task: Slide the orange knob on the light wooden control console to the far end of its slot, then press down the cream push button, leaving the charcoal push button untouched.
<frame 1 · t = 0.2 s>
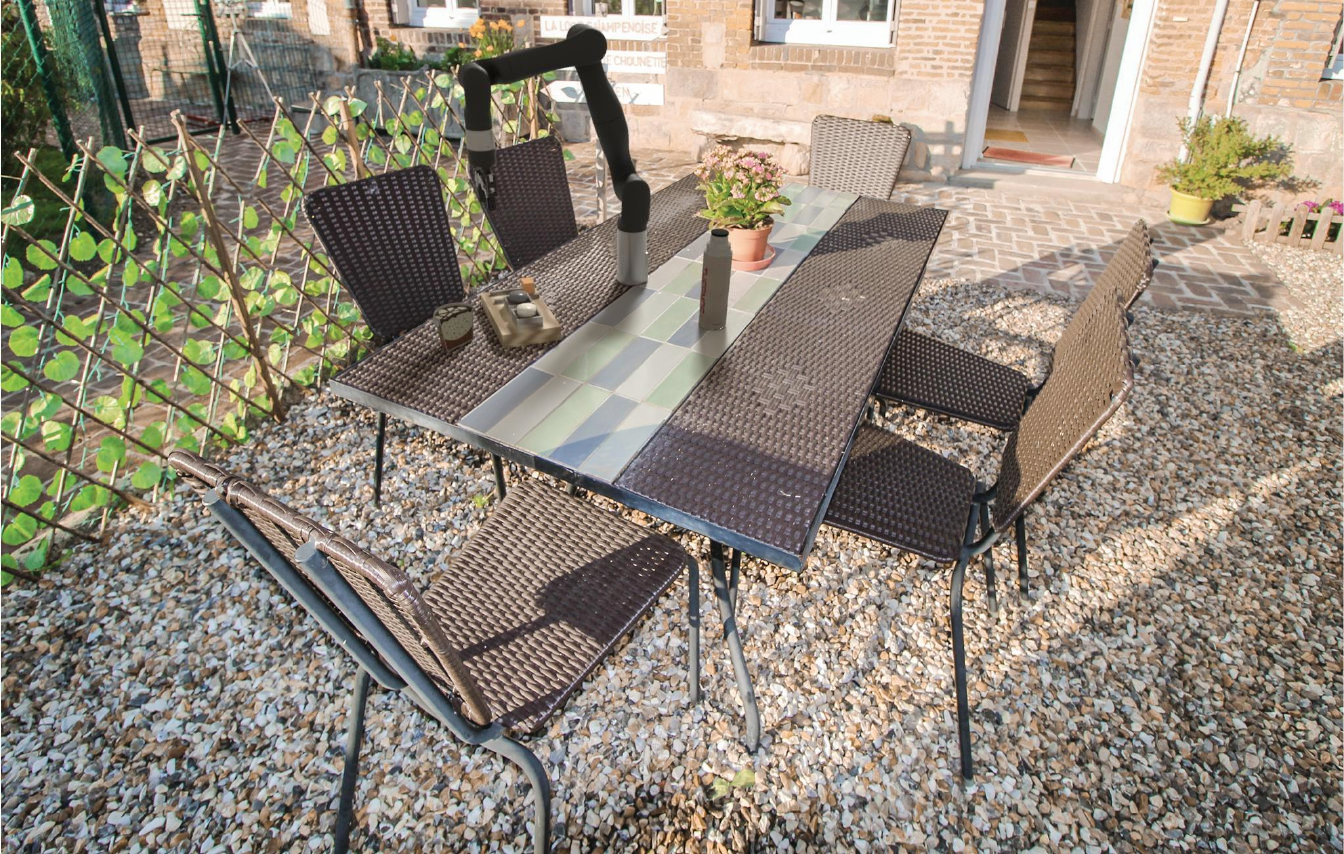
hand: (487, 206, 207), 28 cm above the table, tool pointing down, fingers open, 8 cm apart
slider knob: (527, 287, 217), point 6 cm above the table, slide at 0.0 cm
charcoal button: (518, 296, 207), point 8 cm above the table, slide at 0.0 cm
cream button: (526, 310, 201), point 8 cm above the table, slide at 0.0 cm
console: (520, 322, 212), on the table
thermos bottle: (712, 324, 216), on the table
food container: (452, 343, 200), on the table
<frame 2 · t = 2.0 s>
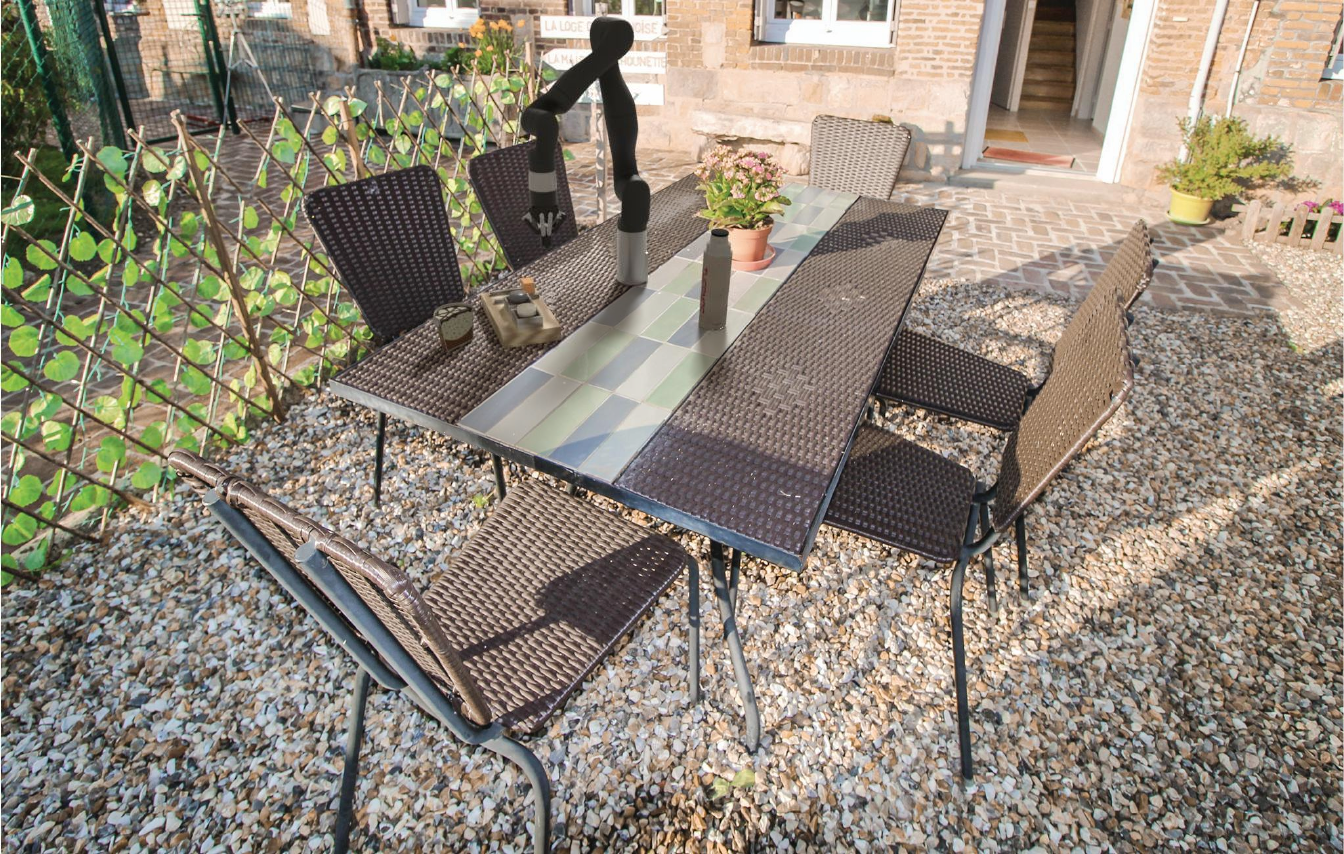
hand: (545, 247, 212), 18 cm above the table, tool pointing down, fingers closed
nothing on the table moved.
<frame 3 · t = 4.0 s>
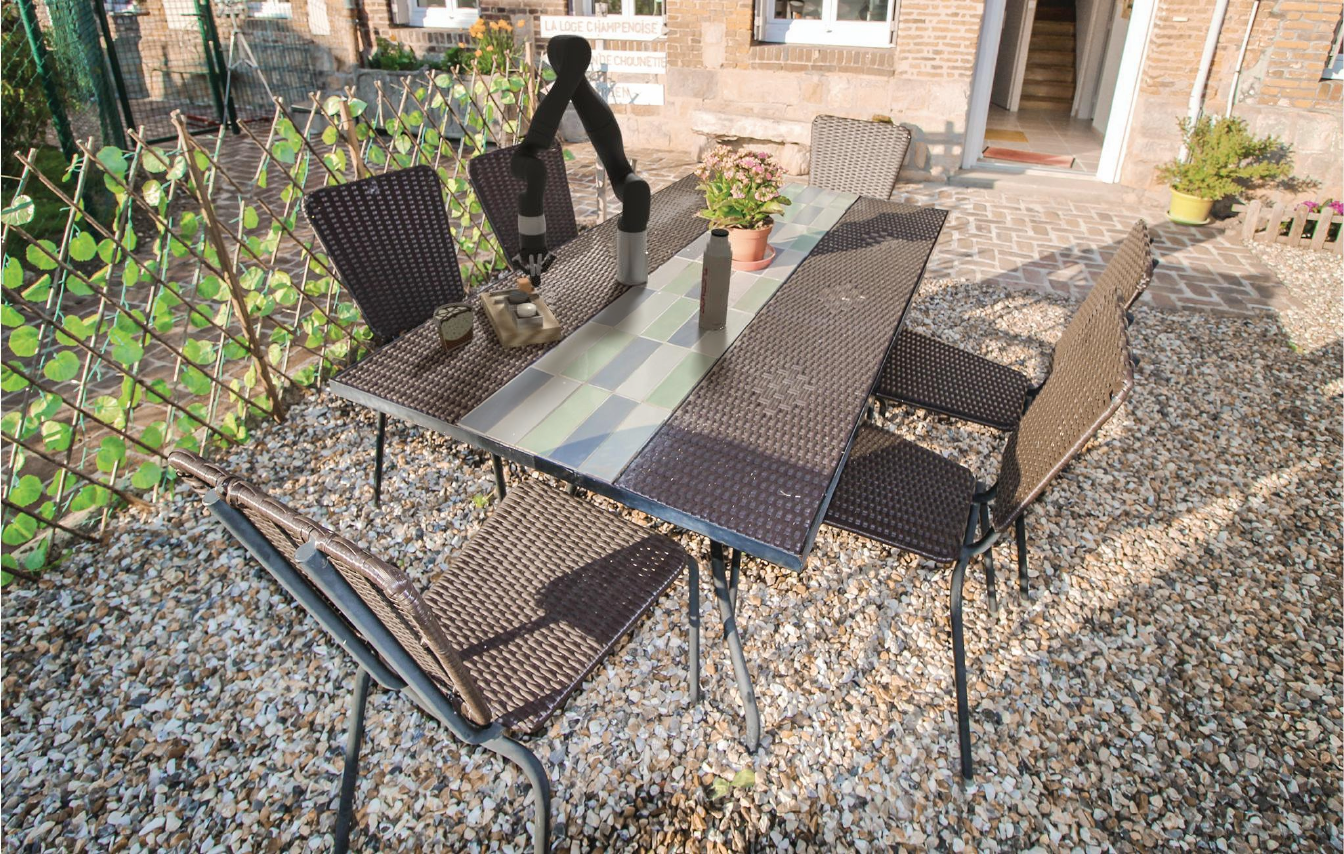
hand: (535, 286, 217), 6 cm above the table, tool pointing down, fingers closed
slider knob: (524, 287, 216), point 6 cm above the table, slide at 1.1 cm, touching gripper
everything else where it was.
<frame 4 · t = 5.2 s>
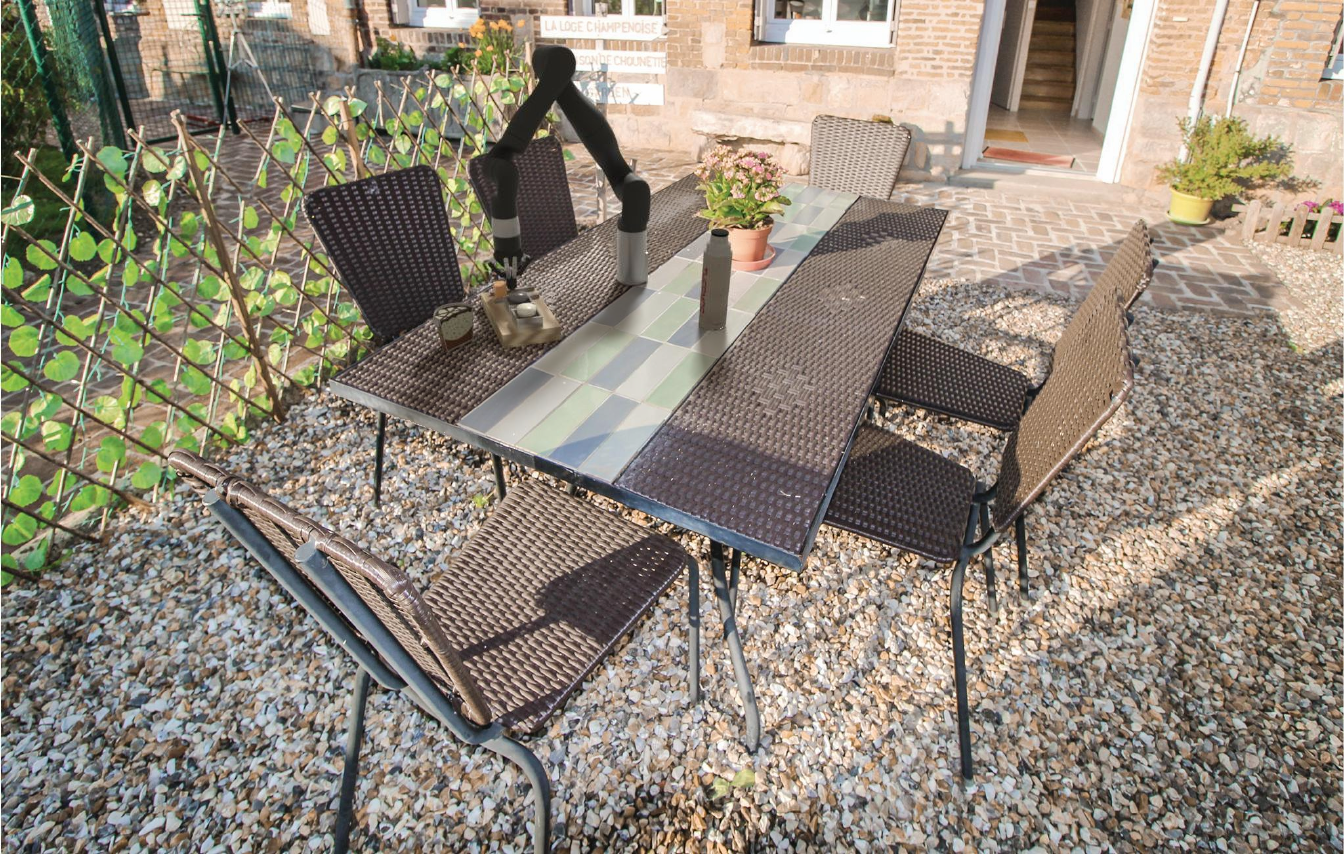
hand: (511, 289, 215), 6 cm above the table, tool pointing down, fingers closed
slider knob: (500, 290, 214), point 6 cm above the table, slide at 8.1 cm, touching gripper
everything else where it was.
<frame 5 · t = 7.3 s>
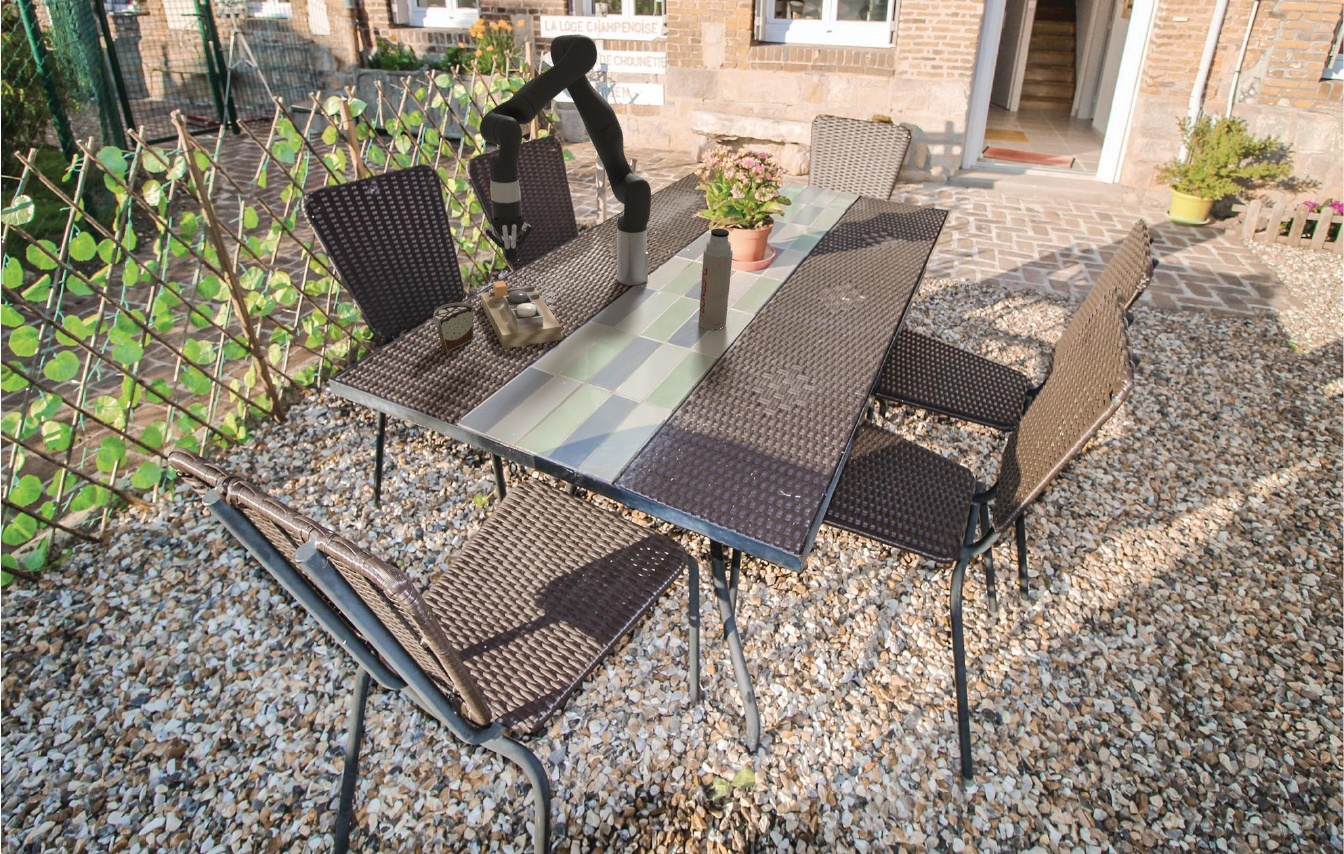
hand: (510, 260, 201), 18 cm above the table, tool pointing down, fingers closed
slider knob: (500, 290, 214), point 6 cm above the table, slide at 8.1 cm
everything else where it was.
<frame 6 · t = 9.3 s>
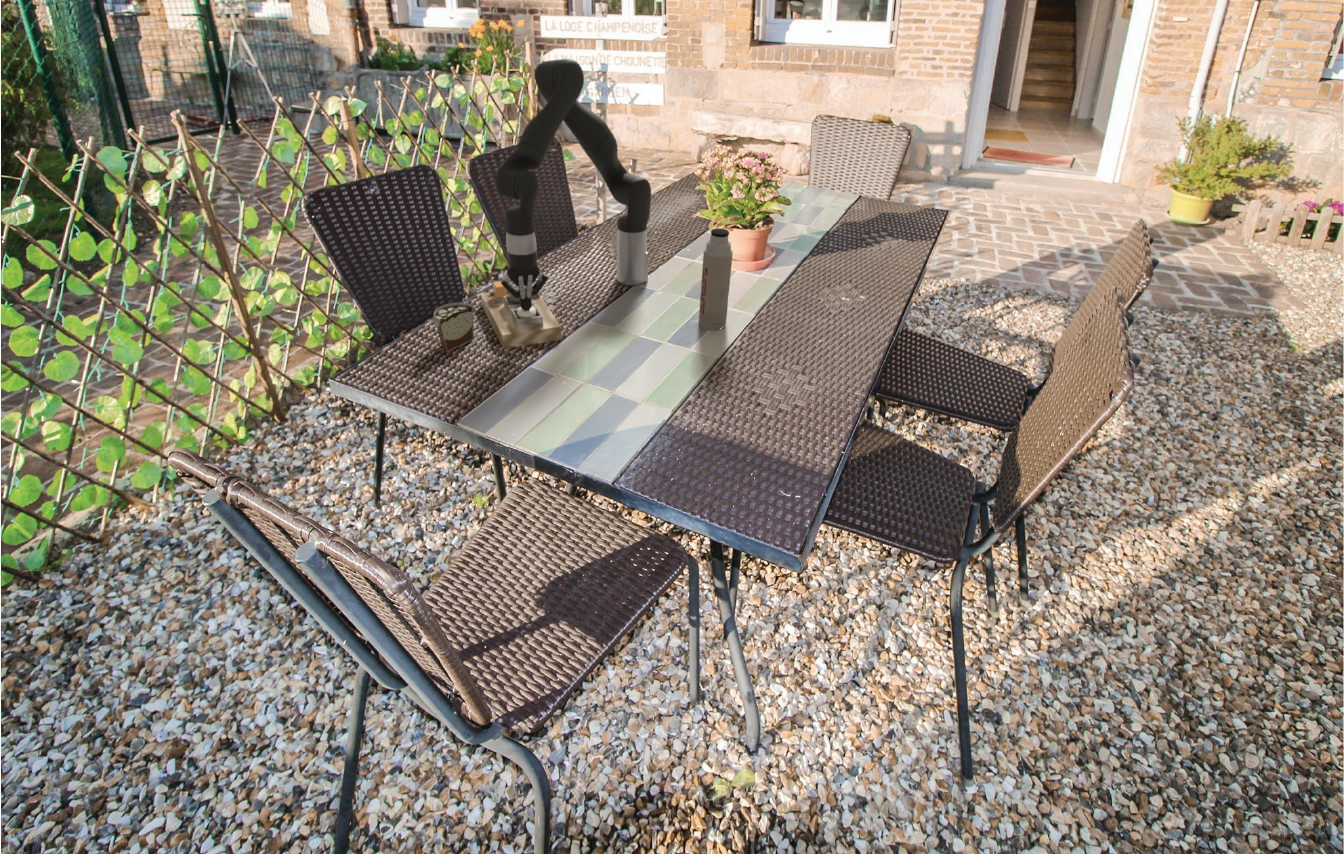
hand: (526, 309, 200), 8 cm above the table, tool pointing down, fingers closed
cream button: (526, 312, 201), point 7 cm above the table, slide at 0.7 cm, touching gripper
everything else where it was.
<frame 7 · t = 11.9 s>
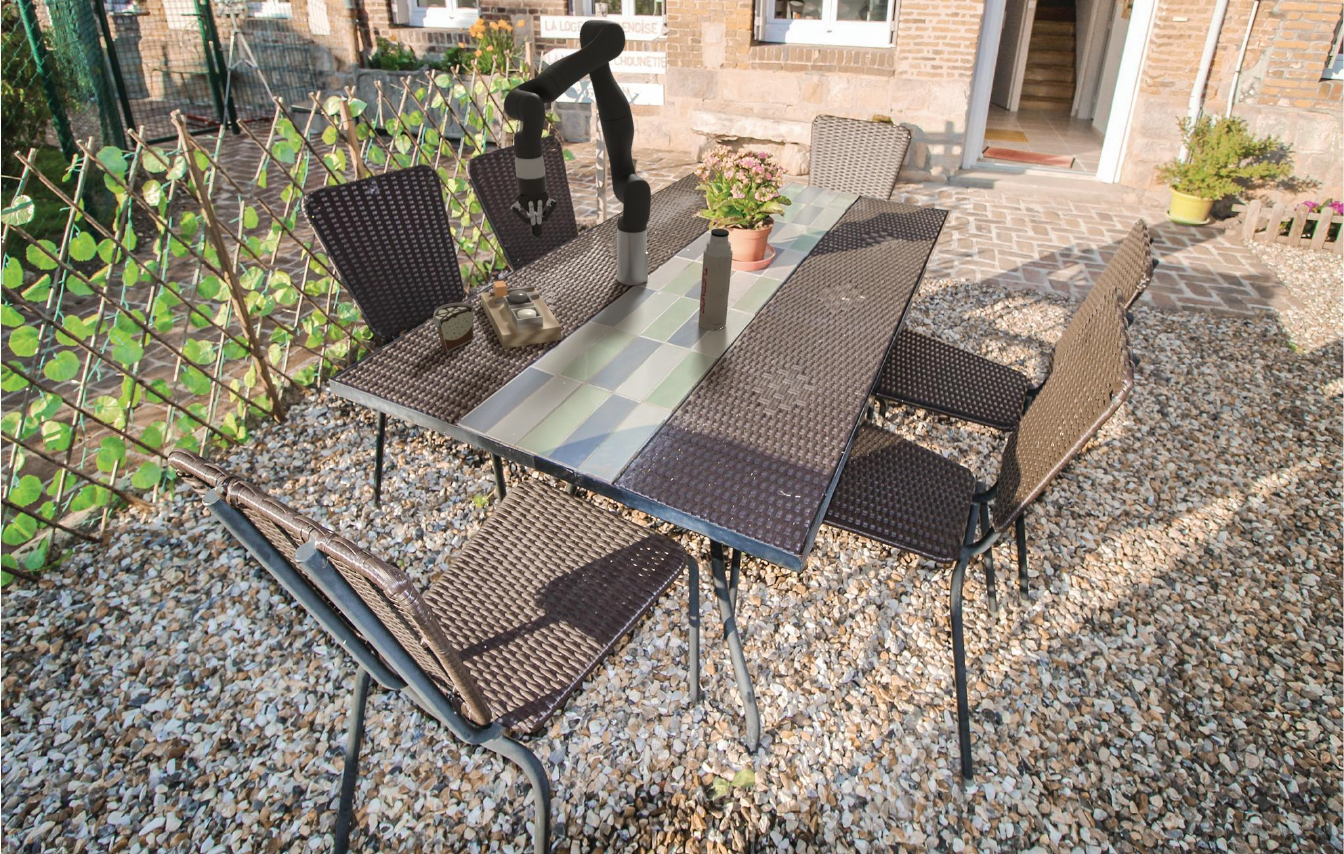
hand: (536, 236, 204), 23 cm above the table, tool pointing down, fingers closed
cream button: (526, 316, 202), point 6 cm above the table, slide at 1.7 cm
everything else where it was.
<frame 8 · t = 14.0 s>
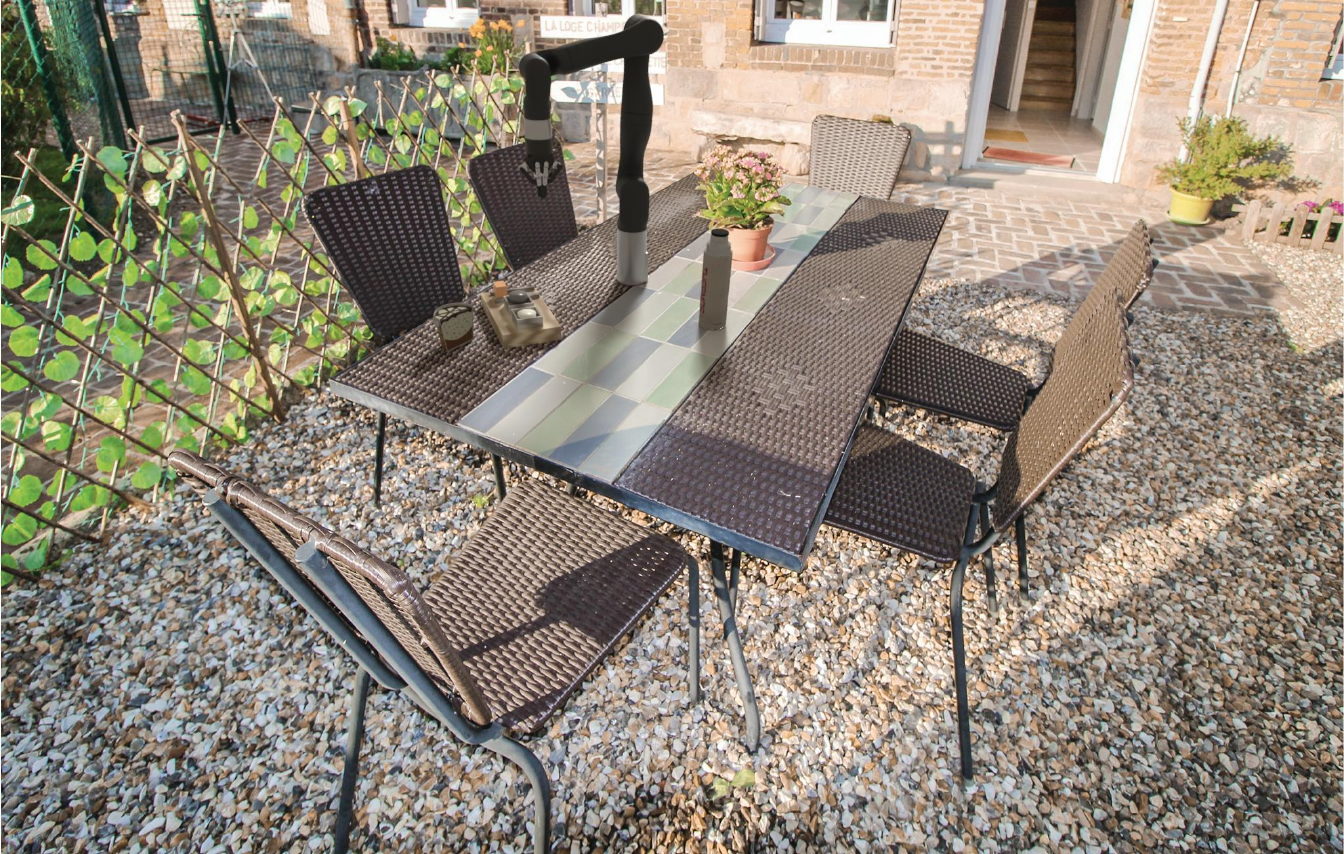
hand: (541, 198, 213), 29 cm above the table, tool pointing down, fingers closed
nothing on the table moved.
at the end: slider knob slide at 8.1 cm; cream button slide at 1.7 cm; charcoal button slide at 0.0 cm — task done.
